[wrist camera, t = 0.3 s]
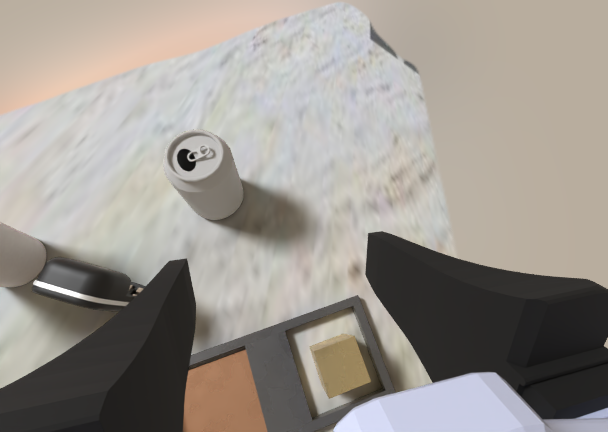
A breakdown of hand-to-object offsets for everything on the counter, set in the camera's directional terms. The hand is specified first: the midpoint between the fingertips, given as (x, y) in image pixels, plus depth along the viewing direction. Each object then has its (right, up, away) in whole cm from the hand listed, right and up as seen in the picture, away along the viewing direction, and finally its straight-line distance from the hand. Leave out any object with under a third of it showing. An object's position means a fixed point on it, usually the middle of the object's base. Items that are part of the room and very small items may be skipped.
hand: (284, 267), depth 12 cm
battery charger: (-22, -8, +27) cm, 36 cm away
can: (-11, +5, +32) cm, 34 cm away
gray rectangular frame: (-2, -17, +25) cm, 30 cm away
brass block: (+4, -15, +26) cm, 30 cm away
